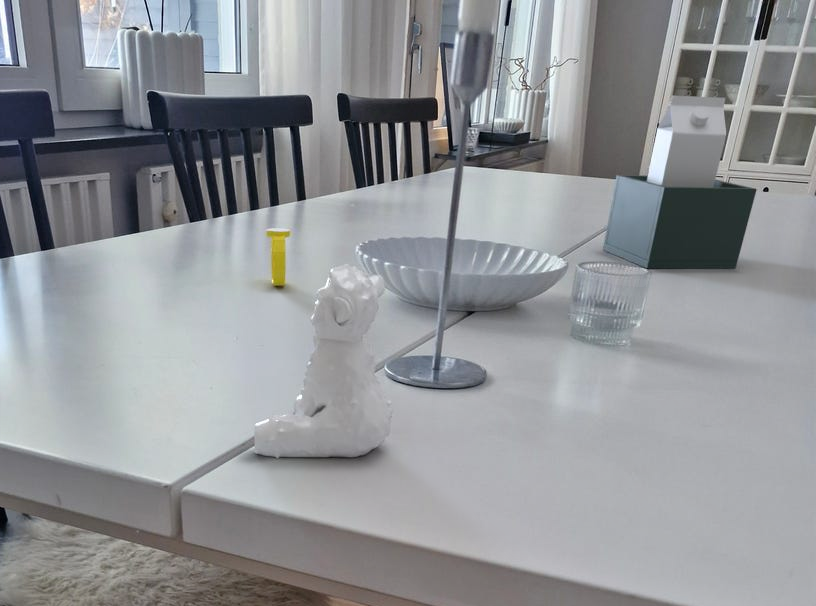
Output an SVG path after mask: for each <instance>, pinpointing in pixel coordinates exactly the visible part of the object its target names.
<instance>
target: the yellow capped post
mask: <svg viewBox="0 0 816 606" xmlns="http://www.w3.org/2000/svg"><path fill="white" fill-rule="evenodd" d="M265 236H266V237H268V238H271V239H270V272H271V273H270V274H271V275H270V277H271V284H272V286H279V287H281V286H285V285H286V263H287V262H286V238H290V237H291V230H290V229H288V228H281V227H280V228H278V227H275V228H274V227H272V228H265Z"/></svg>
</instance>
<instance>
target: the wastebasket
mask: <svg viewBox="0 0 816 606" xmlns="http://www.w3.org/2000/svg"><path fill="white" fill-rule="evenodd" d="M647 177H648V175H645V174H644V175H639V174H636V175H635V174H616V176H615V182H614V187H613V188H614V189H613V193H612V198H611V205H610V209H609V215H608V219H607V226H606V231H605V236H604V240H603V241H604V242H603V247H602V251H604V252H606V253H609V254H612V255H614V256H616V257H619V258H621V259H623V260H626V261H628V262H630V263H632V264H635V265H637V266H639V267H642V268H645V269H647V268H648V269H647V270H649V269H650V270H651V269H652V270H655V269H656V270H658V269H659V270H665V269H667V270H668V269H673V270H675V269H677V270H678V269H681V270H682V269H689V270H690V269H693V270H695V269H698V270H699V269H736V268H737V265H738V261H739V257H740V254H741V250H742V246H743V243H744V238H745V234H746V231H747V227H748V225H749V224H748V223H749V220H750V217H751V212H752V209H753V205H754V201H755V197H756V193H757V191H758V188H756V187H755V188H754V187H752V186H751V187H750V186H746V185H743V184H737V183H732V182H728V181H724V180H720V179H715V183H714V187H666V186H662V185H658V184H654V183H650V182H647Z"/></svg>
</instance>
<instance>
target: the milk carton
mask: <svg viewBox="0 0 816 606" xmlns="http://www.w3.org/2000/svg"><path fill="white" fill-rule="evenodd" d="M725 103H726V97H716V96H715V97H713V96H693V95H671V99H670V104H669V106H668V108H667V110H666V111H665V113H664V115H663V117H662V119H661V121H660V123H659V124H658V127H657V128H656V133H655V138H654V143H653V149H652V154H651V159H650V162H649V168H648V173H647V176H648V177H647V182H650V183H654V184H658V185H662V186H666V187H714V183H715V180H717V174H718V170H719V166H720V162H721V158H722V154H723V150H724V145H725V143H726V142H725V141H726V137H727V128H726V127H727V126H726V119H725V118H726V117H725V109H724V108H725V107H724V106H725Z"/></svg>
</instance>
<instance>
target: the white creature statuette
mask: <svg viewBox="0 0 816 606" xmlns="http://www.w3.org/2000/svg"><path fill="white" fill-rule="evenodd" d="M327 276H328V278H327V281H326V284H325V286H324V287H321V288H319V289H317V291H316V292H315V294H316V297H317V301H315V303H314V306H315V307H314V308H313V314H312V315H311V317H310V322H311V325H312V326H313V327H314V332H315V335H314V336H313V338H312V341H313V345H314V346H313V347H314V350H313V351H312V352H311V353H310V355H309V359H308V363H307V365H306V370H305V373H304V375H305V378H304V379H303V383H302V384H303V385H302V389H301V390H300V395H299V396H297V397H296V398H295V401H294V403H293V411H294V413H291V412H290V413H289V412H288V413H287V414H284V415H277V414H271V415H270V416H269V418H268V419H266V420H262V421H260V422H258V423H255V424H254V430H253V431H254V433H253V434H254V435H253V437H254V442H253V443H254V454H255V455H261V456H265V457H274V458H276V459H279V458H283V457H285V458H330V457H334V458H357V457H360V456H364V455H366V454H369V453H370V452H371V451H372V450H373V449H376V448H377V447H379V446H380V445H382V444H383V443H385V439H386V438H387V437H389V435H390V434H391V422H392V417H393V416H392V414H393V412H394V410H393V408H392V407H391V405H392V401H391V400H390V399H388V398H387V397H386V394H385V391H384V390H383V389H382V387H381V385H380V382H379V380H378V378H377V376H376V368H377V363H376V362H375V354H374V352H373V350H372V349H371V344H370V343H369V342H368V341H367V339H366V338H365V337H364V335H366V334H367V333H368V331H369V329H370V327H371V326H372V324H373V323H374V322H375V320H376V317H377V314H378V311H379V298H381V297H382V296H383V295H384V293H385V291H386V285H385V279H384V277H383V276H382V275H381V274H374V275H371V276H369V274H368V273H366V272H364V271H362V270H360V269H359V268H358V267H357V266H355V265H353V266H351V265H350V264H349V263H344V264H343V265H341V266H336V267H333V268H331V269H330V272H329V273H328V275H327Z"/></svg>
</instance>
